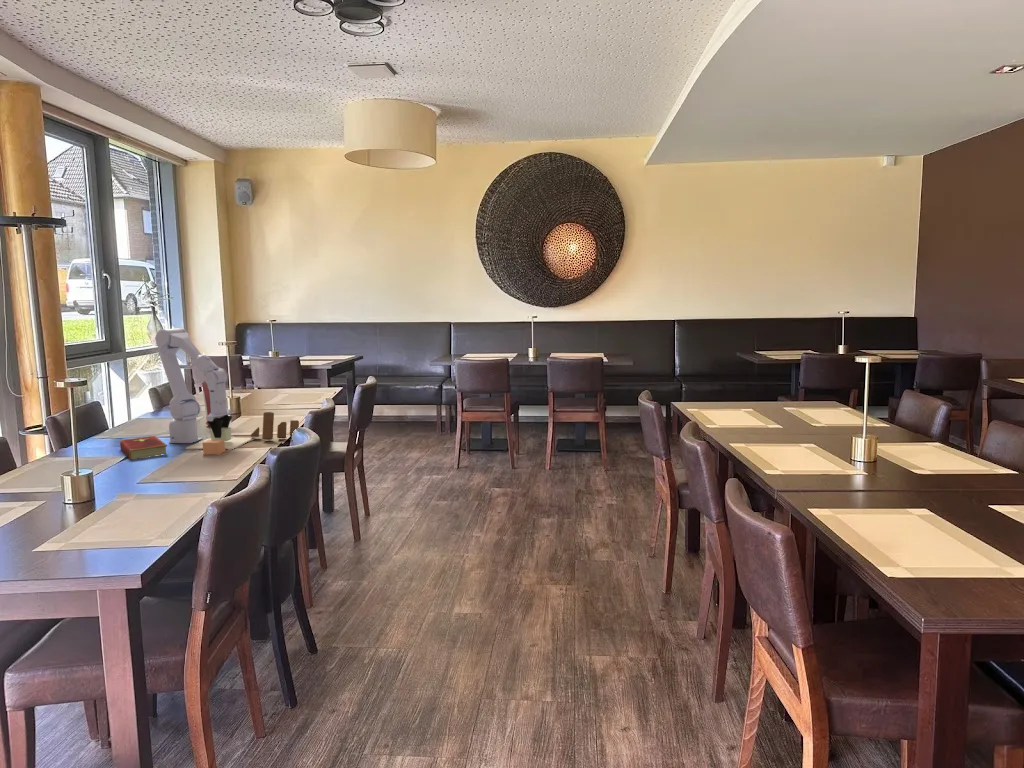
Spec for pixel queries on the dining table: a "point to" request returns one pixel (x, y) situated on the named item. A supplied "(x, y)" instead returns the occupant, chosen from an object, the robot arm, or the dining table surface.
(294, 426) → the wooden block set
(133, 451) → the hardcover book
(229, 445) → the build pad
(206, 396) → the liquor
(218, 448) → the terracotta block
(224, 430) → the sage block
